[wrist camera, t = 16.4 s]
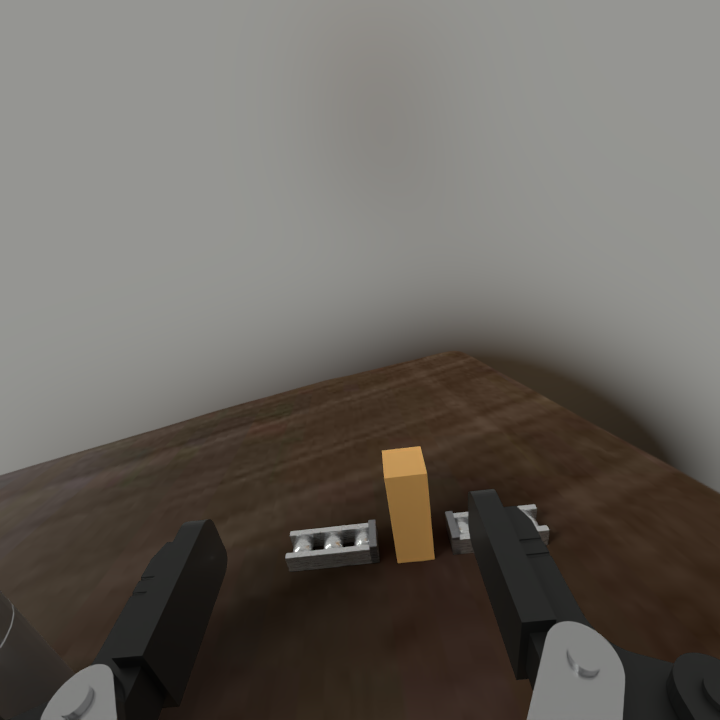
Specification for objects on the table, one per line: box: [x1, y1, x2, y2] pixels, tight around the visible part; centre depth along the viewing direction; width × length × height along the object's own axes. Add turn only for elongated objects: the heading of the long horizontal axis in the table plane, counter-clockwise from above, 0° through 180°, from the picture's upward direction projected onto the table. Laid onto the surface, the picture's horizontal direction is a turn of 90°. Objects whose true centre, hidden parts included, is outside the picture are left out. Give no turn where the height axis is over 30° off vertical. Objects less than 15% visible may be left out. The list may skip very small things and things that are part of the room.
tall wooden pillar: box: [382, 446, 435, 563], centre depth 38 cm, size 4×5×12 cm
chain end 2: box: [445, 504, 549, 555], centre depth 39 cm, size 10×3×3 cm, turn 90°
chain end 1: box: [285, 520, 380, 572], centre depth 40 cm, size 10×3×3 cm, turn 90°
